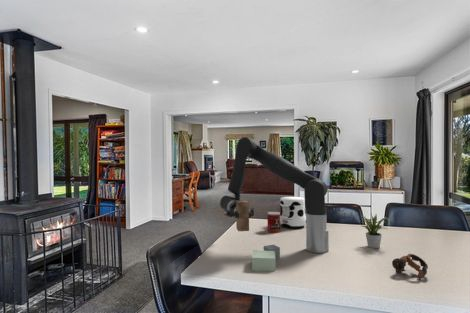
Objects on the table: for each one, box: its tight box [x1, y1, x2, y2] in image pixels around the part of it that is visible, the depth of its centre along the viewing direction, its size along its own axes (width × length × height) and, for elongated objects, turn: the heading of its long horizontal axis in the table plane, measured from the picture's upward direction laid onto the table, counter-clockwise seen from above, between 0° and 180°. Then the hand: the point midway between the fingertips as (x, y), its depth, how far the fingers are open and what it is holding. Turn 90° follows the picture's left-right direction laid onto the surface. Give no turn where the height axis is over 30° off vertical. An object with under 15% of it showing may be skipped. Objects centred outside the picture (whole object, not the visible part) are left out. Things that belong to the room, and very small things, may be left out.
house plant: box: [360, 213, 388, 249], centre depth 136 cm, size 14×14×16 cm
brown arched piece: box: [391, 253, 429, 280], centre depth 104 cm, size 12×10×8 cm
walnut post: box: [235, 200, 250, 232], centre depth 119 cm, size 4×4×12 cm
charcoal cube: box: [263, 244, 281, 261], centre depth 122 cm, size 5×5×5 cm
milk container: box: [279, 196, 306, 229], centre depth 181 cm, size 17×17×18 cm
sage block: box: [251, 249, 276, 272], centre depth 113 cm, size 9×9×5 cm
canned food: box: [266, 211, 281, 234], centre depth 168 cm, size 8×8×11 cm
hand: (244, 215), depth 116 cm, fingers closed on walnut post, 4 cm apart
